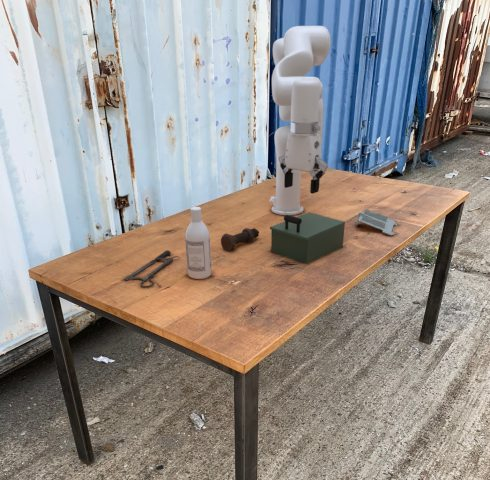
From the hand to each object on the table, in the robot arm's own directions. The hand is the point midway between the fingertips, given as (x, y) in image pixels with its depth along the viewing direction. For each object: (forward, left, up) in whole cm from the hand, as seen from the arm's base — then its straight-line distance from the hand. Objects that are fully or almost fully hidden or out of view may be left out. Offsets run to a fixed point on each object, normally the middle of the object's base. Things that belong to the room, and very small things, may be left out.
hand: (301, 189), depth 149 cm
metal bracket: (+4, +39, -21) cm, 44 cm away
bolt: (-20, -5, -21) cm, 30 cm away
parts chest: (-1, +6, -21) cm, 22 cm away
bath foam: (-12, -31, -21) cm, 39 cm away
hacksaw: (-24, -37, -21) cm, 49 cm away
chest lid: (-1, +6, -13) cm, 14 cm away
